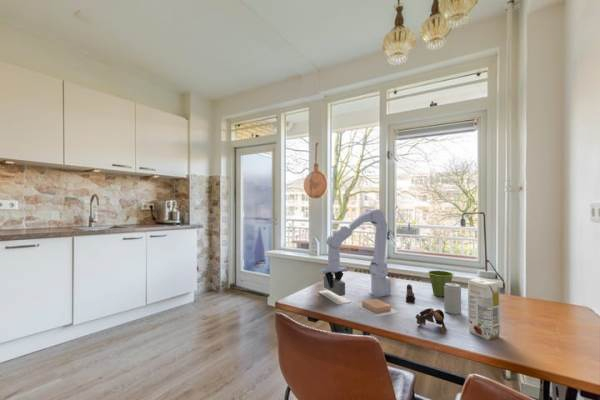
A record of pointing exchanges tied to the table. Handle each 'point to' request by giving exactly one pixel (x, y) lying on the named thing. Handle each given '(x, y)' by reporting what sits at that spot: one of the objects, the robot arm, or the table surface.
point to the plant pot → (439, 281)
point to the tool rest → (334, 297)
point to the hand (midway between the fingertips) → (333, 287)
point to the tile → (376, 305)
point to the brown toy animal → (429, 315)
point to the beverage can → (452, 298)
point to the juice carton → (484, 308)
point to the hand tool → (410, 294)
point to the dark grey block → (335, 286)
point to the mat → (378, 312)
